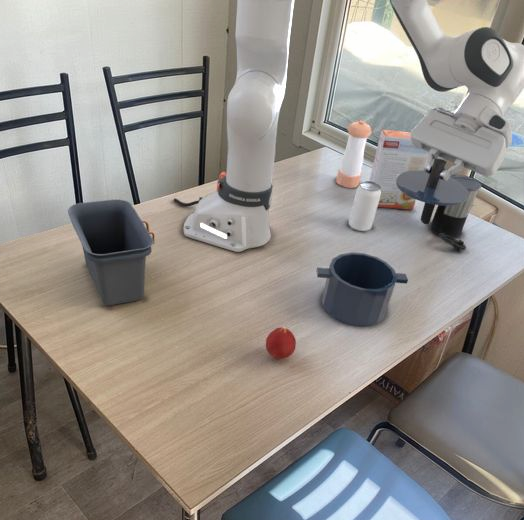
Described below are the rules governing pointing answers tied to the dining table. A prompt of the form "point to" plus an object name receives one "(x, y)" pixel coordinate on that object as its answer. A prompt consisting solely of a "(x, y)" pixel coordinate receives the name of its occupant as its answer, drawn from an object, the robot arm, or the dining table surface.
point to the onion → (280, 343)
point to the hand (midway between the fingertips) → (434, 175)
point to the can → (365, 206)
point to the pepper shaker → (353, 155)
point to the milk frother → (452, 214)
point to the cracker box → (396, 167)
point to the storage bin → (113, 248)
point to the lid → (432, 186)
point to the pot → (358, 288)
